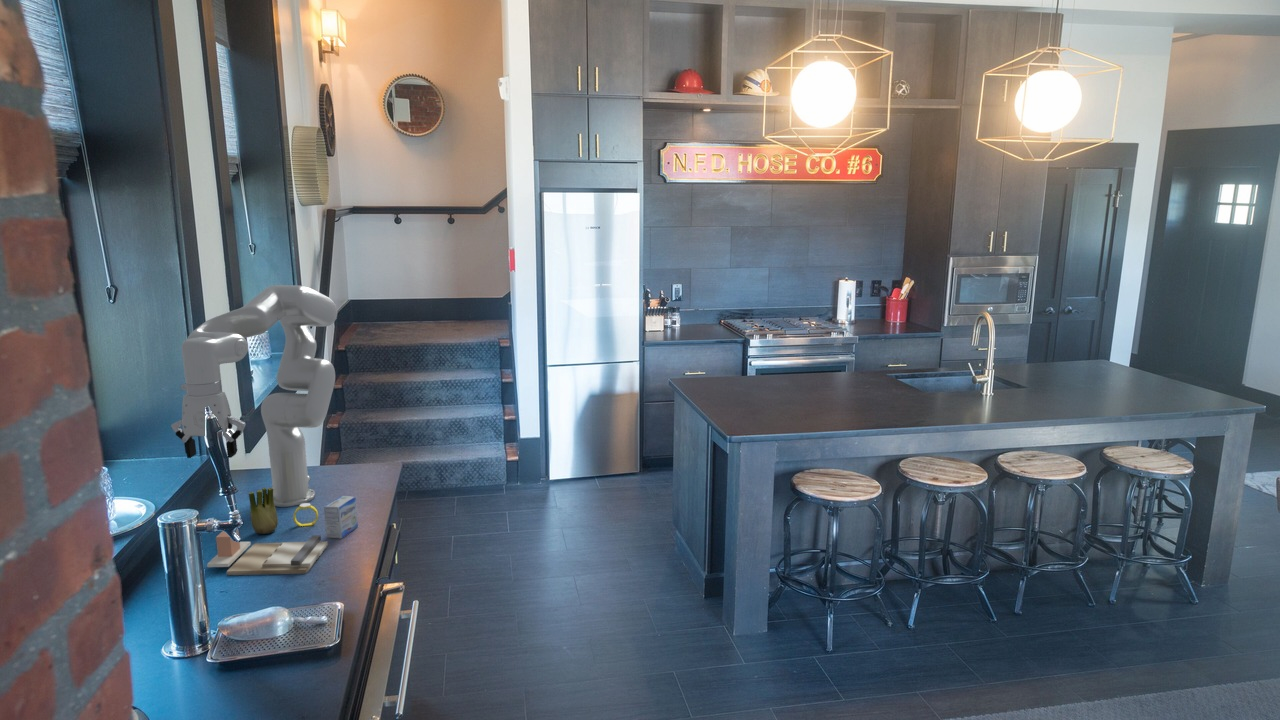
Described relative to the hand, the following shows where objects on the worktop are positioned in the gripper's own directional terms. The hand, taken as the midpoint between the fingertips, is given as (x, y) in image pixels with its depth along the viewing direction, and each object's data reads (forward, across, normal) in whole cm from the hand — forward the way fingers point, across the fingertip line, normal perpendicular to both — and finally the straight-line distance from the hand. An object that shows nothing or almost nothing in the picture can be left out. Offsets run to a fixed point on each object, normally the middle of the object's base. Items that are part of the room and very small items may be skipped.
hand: (212, 456), depth 193 cm
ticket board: (+23, +18, -10) cm, 31 cm away
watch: (+24, +17, +11) cm, 31 cm away
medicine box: (+24, +28, +6) cm, 37 cm away
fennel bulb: (+24, +8, +7) cm, 26 cm away
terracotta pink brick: (+22, +6, -9) cm, 25 cm away
